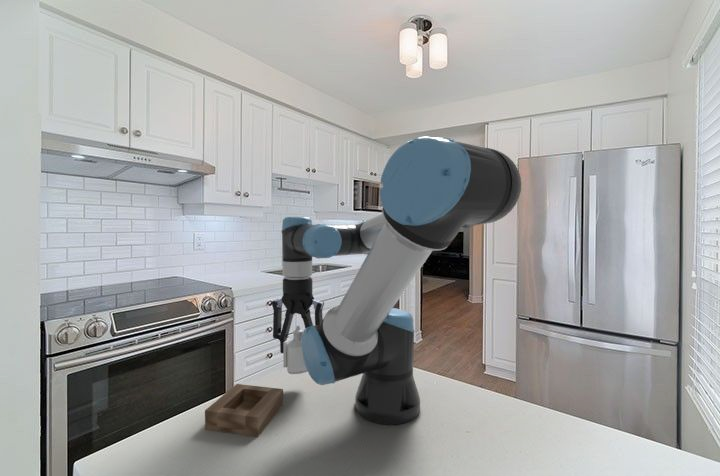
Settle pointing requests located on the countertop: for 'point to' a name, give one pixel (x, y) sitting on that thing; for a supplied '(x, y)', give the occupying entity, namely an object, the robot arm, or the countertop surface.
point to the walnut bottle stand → (244, 410)
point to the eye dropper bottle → (295, 353)
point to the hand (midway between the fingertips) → (298, 366)
